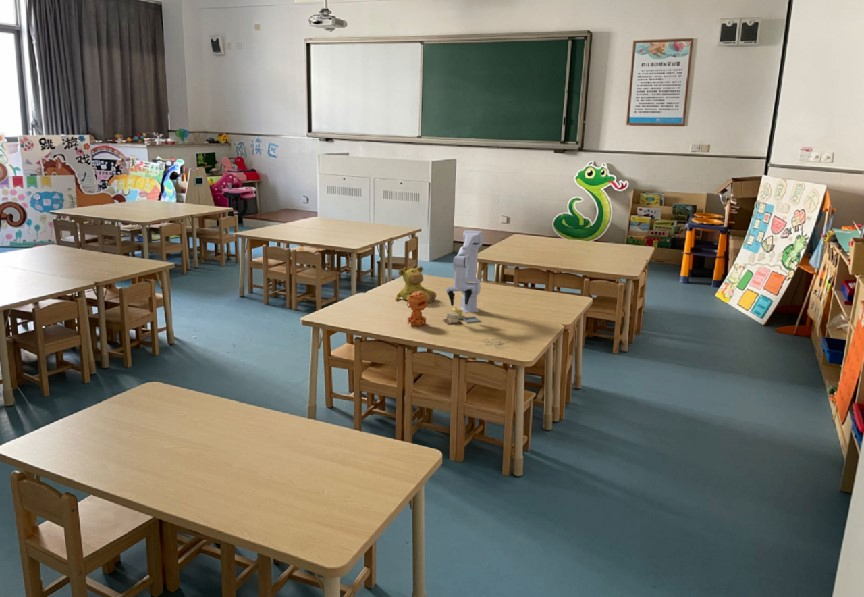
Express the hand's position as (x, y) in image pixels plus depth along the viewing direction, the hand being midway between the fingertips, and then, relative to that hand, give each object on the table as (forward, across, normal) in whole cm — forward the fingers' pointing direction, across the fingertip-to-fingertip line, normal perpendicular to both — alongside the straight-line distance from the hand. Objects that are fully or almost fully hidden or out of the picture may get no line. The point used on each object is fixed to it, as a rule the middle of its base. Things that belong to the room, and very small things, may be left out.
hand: (459, 304), depth 343 cm
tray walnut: (+9, -4, 0) cm, 10 cm away
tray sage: (+9, +2, +7) cm, 12 cm away
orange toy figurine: (+9, -22, +1) cm, 24 cm away
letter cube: (+9, +2, +7) cm, 12 cm away
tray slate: (+9, +7, 0) cm, 12 cm away
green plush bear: (+10, -9, +46) cm, 48 cm away
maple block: (+9, -4, 0) cm, 10 cm away
